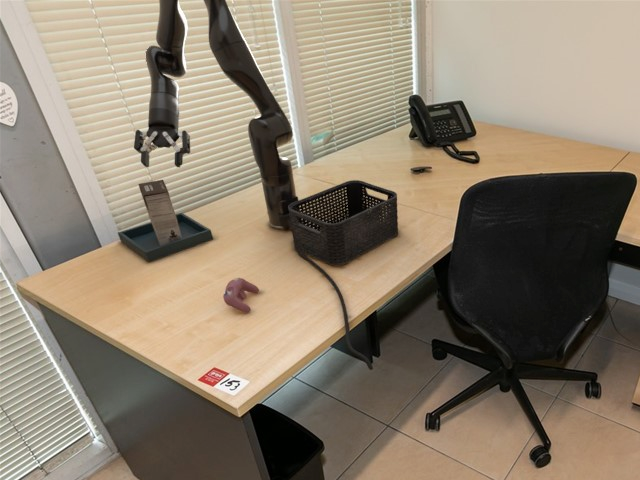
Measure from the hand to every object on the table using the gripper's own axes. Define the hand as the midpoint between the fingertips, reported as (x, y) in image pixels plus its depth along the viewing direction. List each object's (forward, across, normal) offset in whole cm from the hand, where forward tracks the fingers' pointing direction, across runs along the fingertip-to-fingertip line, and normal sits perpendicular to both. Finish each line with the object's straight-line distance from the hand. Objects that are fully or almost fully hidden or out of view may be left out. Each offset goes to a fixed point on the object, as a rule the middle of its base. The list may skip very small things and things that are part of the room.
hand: (161, 166), depth 148 cm
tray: (+20, 0, +6) cm, 21 cm away
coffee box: (+20, 0, +6) cm, 21 cm away
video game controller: (+44, +28, -17) cm, 55 cm away
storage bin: (+21, +52, +6) cm, 56 cm away
